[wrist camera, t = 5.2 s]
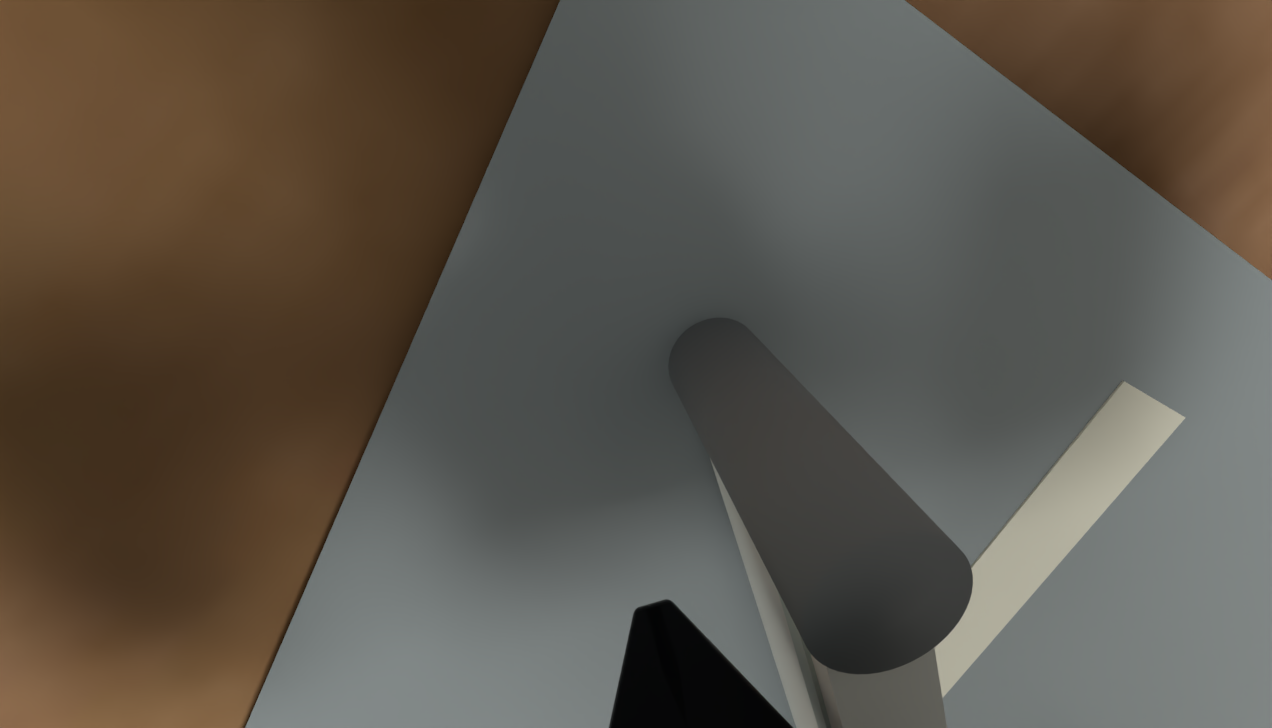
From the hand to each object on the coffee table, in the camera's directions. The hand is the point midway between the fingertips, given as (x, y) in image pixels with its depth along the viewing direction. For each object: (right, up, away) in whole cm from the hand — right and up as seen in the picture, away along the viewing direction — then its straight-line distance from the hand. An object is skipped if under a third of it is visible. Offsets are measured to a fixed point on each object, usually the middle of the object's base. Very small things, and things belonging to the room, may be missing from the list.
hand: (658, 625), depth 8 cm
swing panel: (+2, 0, +3) cm, 4 cm away
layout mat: (+6, -2, +5) cm, 8 cm away
